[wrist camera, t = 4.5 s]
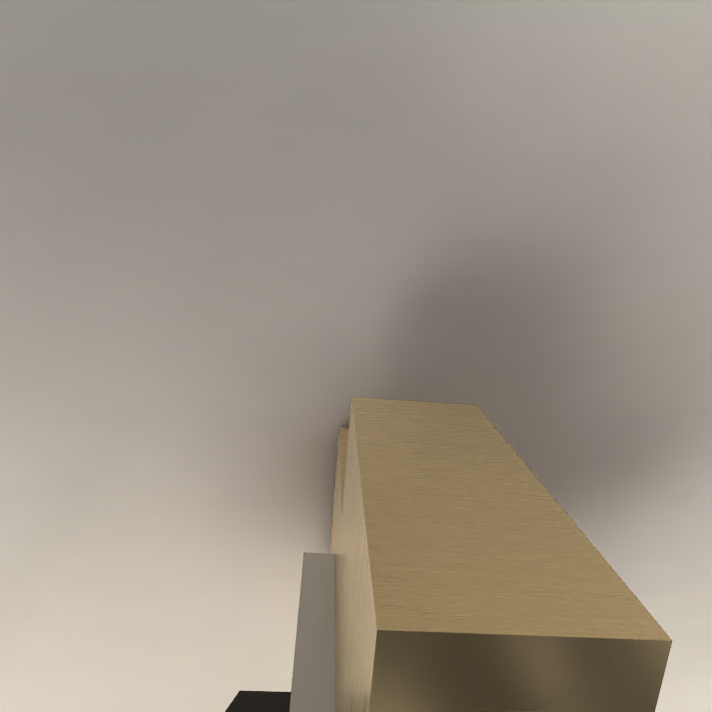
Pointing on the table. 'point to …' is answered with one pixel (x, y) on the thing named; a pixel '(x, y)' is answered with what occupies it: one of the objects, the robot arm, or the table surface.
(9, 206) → the table surface
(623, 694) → the light wooden block
